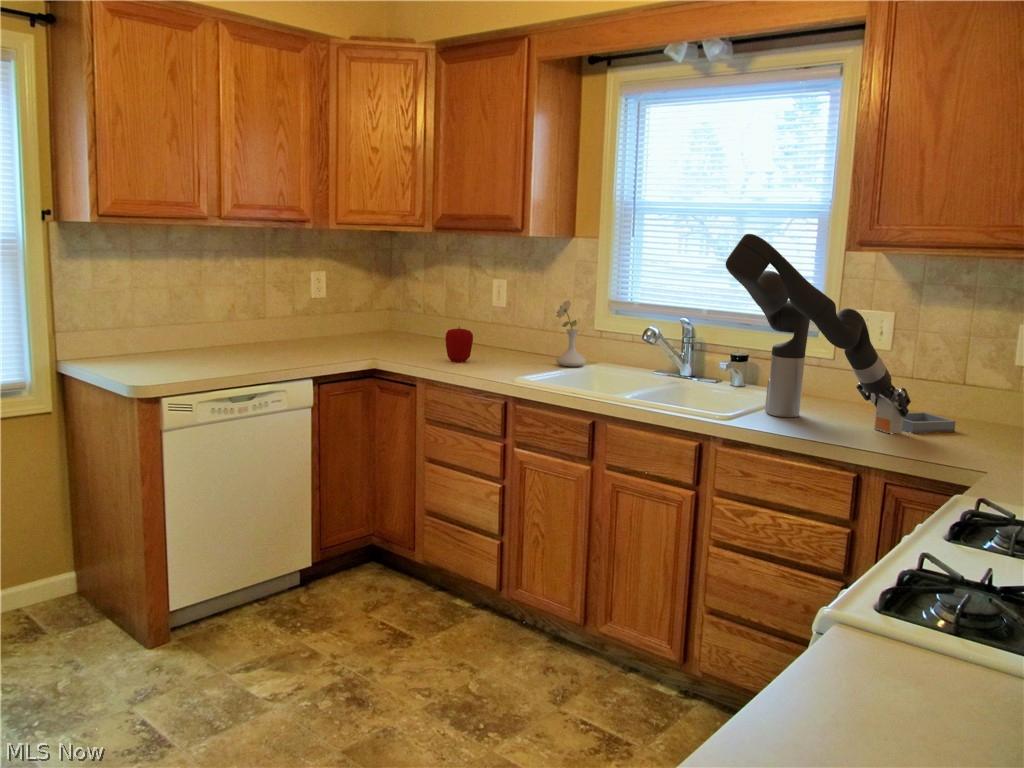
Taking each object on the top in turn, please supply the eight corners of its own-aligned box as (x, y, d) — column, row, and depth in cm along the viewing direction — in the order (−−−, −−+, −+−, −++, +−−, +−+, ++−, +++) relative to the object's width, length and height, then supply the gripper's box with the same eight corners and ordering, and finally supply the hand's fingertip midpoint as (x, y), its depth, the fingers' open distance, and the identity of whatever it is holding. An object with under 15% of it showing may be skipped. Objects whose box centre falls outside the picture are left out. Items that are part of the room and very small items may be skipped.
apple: (474, 363, 329) (475, 327, 327) (447, 363, 327) (448, 327, 324) (469, 359, 339) (470, 324, 337) (443, 359, 337) (443, 324, 334)
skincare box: (873, 429, 241) (878, 386, 239) (885, 428, 243) (890, 386, 241) (890, 434, 236) (895, 390, 234) (902, 433, 237) (907, 390, 235)
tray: (882, 423, 249) (883, 413, 249) (922, 422, 253) (924, 412, 253) (912, 433, 238) (913, 422, 237) (954, 431, 242) (955, 421, 241)
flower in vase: (572, 362, 340) (575, 298, 336) (592, 367, 332) (595, 300, 327) (546, 365, 332) (549, 299, 328) (566, 369, 324) (569, 301, 319)
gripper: (840, 377, 236) (863, 416, 244) (887, 386, 224) (910, 428, 232) (855, 357, 238) (878, 396, 246) (902, 365, 226) (925, 406, 234)
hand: (893, 411), depth 239 cm, fingers closed on skincare box, 6 cm apart
